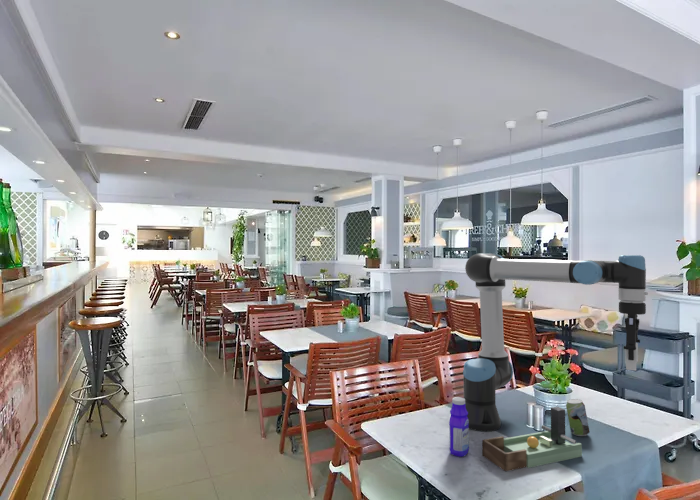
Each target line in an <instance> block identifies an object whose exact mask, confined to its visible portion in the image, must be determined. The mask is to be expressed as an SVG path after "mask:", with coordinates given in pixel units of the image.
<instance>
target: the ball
mask: <svg viewBox="0 0 700 500" xmlns="http://www.w3.org/2000/svg"><path fill="white" fill-rule="evenodd" d="M527 444H528V446H529V447H531V448H537V447H538V445H539V441H538V439H537V438H536V437H534V436H530V437H529V438H528V439H527Z"/></svg>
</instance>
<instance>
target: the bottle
mask: <svg viewBox="0 0 700 500" xmlns="http://www.w3.org/2000/svg"><path fill="white" fill-rule="evenodd" d="M451 404H452V406H451V409H450V410H449V414H450V417H449V423H448V424H449V426H448V427H449V431H448V432H449V448H448V449H449V453H450V454H451V455H452V456H455V457H459V458H460V457H461V458H462V457H466V455H467V454H468V453H469V451H470V444H469V443H470V437H469V435H470V432H469V431H470V429H469V420H468V417H467V415H468V412H467V410H466V407H465V399H464V397H461V396H460V397H459V396H455V397H453V398H452V403H451Z"/></svg>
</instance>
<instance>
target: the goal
mask: <svg viewBox="0 0 700 500" xmlns="http://www.w3.org/2000/svg"><path fill="white" fill-rule="evenodd" d="M481 442H482V443H481V445H482V446H481V447H482V448H481V451H482V452H481V454H482V455H481V456H482V457H484V459H487V460H488V461H489V462H491V463H492V464H494V465H495V466H497V467H499V468H500V469H502V470H503V471H505V472H509V471H514V470H519V469H523V468H527V450H525V449H523V450H518V451H512V452H507V453H505V452H504V436H502V435H501V436H495V437H490V438H485V439H482V440H481Z"/></svg>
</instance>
